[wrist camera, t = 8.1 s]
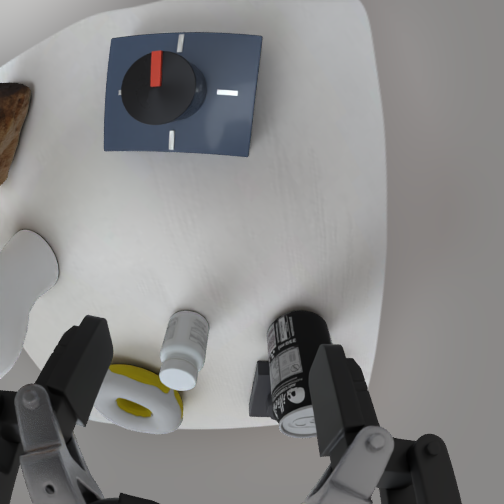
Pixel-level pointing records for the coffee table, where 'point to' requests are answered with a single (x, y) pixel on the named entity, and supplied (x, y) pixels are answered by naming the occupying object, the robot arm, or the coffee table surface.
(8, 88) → the decorative rock
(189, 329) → the pill bottle
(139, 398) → the donut
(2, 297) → the cup
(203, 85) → the program dial
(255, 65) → the control panel
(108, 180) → the coffee table surface
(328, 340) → the beverage can
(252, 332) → the coffee table surface
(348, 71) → the coffee table surface
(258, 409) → the button block
